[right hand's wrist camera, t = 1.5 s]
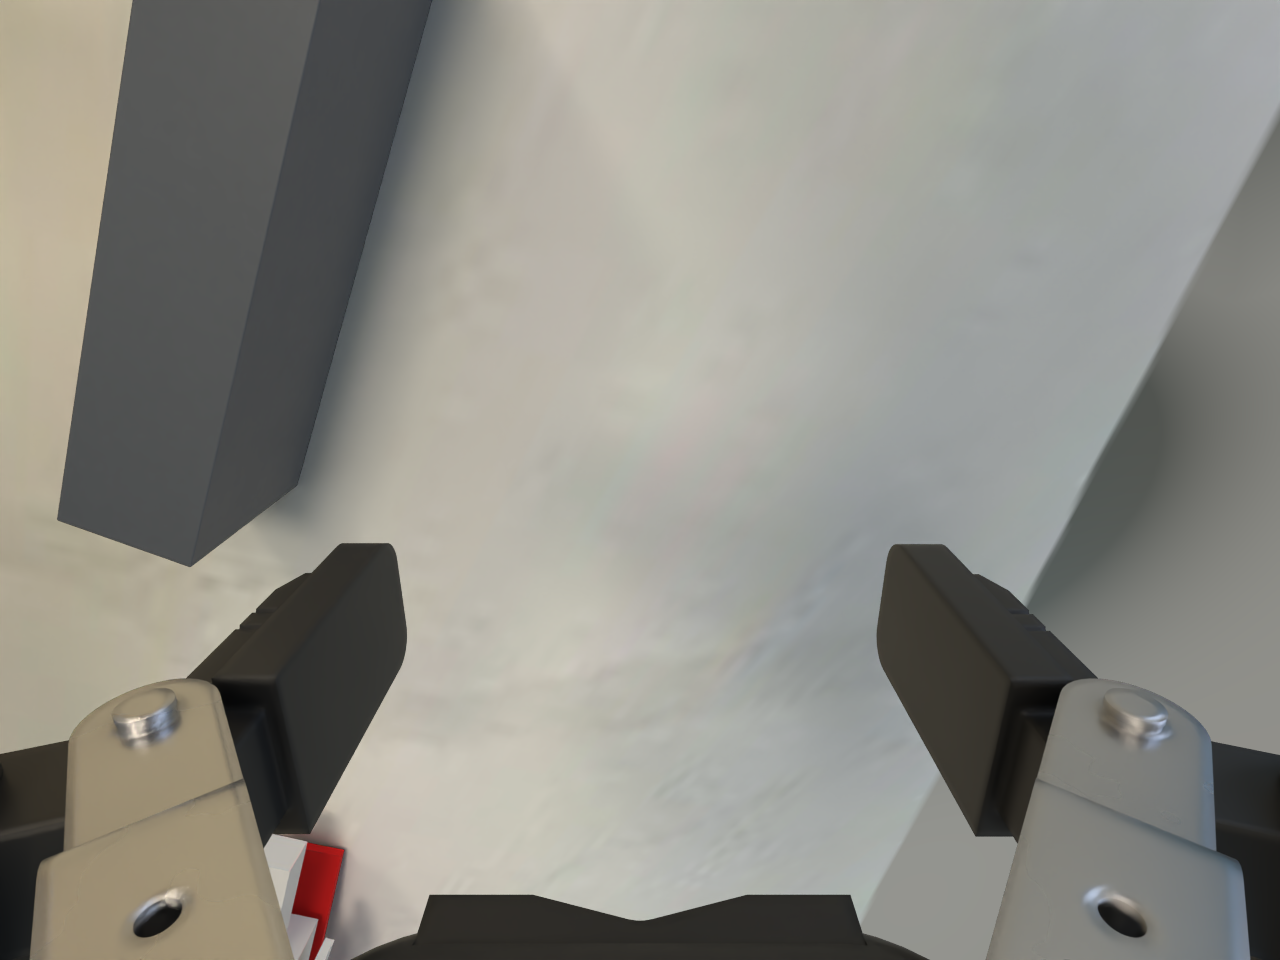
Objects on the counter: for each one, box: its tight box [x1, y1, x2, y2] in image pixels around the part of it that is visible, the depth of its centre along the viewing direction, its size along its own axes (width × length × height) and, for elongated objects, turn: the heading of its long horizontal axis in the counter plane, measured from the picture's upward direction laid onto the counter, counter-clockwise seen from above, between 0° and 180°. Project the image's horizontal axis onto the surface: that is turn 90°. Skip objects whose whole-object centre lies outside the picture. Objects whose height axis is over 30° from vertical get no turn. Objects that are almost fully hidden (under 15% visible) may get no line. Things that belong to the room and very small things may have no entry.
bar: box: [57, 0, 432, 567], centre depth 25 cm, size 26×5×9 cm, turn 156°
